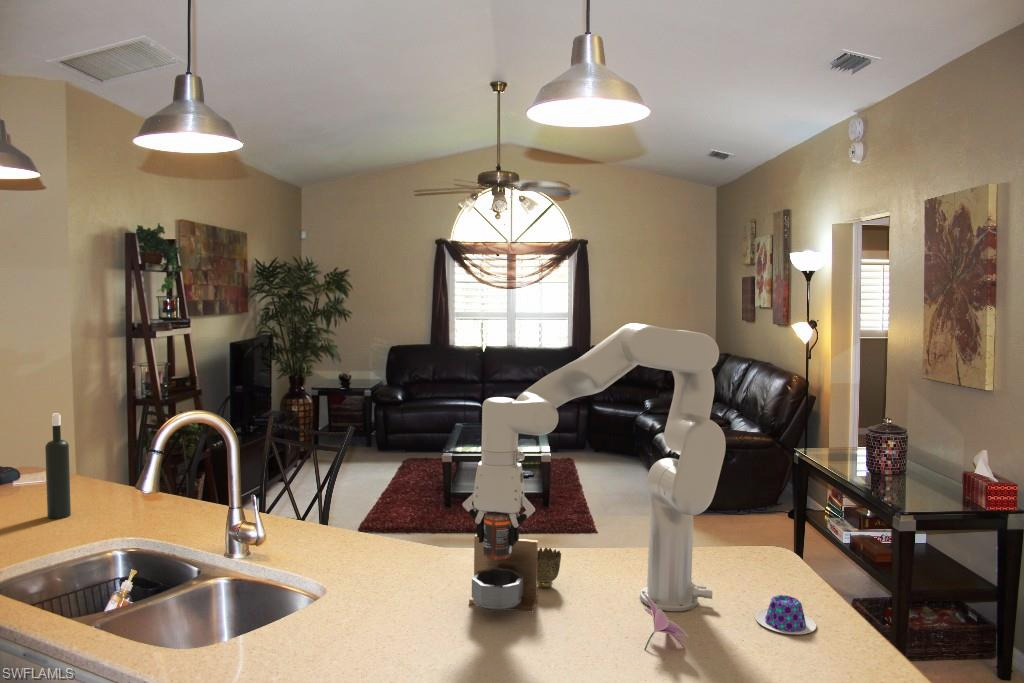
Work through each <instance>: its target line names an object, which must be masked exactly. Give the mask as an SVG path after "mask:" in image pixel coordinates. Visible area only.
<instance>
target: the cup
mask: <svg viewBox="0 0 1024 683" xmlns="http://www.w3.org/2000/svg"><path fill="white" fill-rule="evenodd" d="M561 558H562V553H561V550H556V548H555V549H554V550H552V548H551V547H549V548H547V547H545V548H544V549H543V548H542V547H540V548H538V568H537V588H540V589H545V590H546V589H550V588H552V586H553V585H554V584H553V581H554V580H556V579H557V578H558V575H559V572H560V567H561V560H562V559H561Z"/></svg>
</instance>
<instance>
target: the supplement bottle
mask: <svg viewBox="0 0 1024 683" xmlns="http://www.w3.org/2000/svg"><path fill="white" fill-rule="evenodd" d="M511 526H512V522H511V519H510V516H509V514H506V513H500V512H486V514H485V515H484V541H483V542H484V544H483V551H484V552H483V553H484V556H485V557H486V558H488V559H492V560H504V559H507V558H509V557H510V556H511V551H512V546H511V545H510V527H511Z"/></svg>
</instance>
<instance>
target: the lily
mask: <svg viewBox="0 0 1024 683" xmlns="http://www.w3.org/2000/svg"><path fill="white" fill-rule="evenodd" d="M642 593H643V592H642ZM643 595H644V596H645V598H646V599H647V601H648V602H649V604H650V606H651V607H650V606H649V607H650V609H649V608H643V610H644V611H645V612H646V613H647V614H649V615H650V616H651V617H652V618H653V631H652V633H651V634H650V636H649V637H648V640H647V642H646V644H645V647H644V651H646V650H647V648H648V645H649V643H650V642H651V639H652V637H653V636H654V634H655V633H657V632H659V633H664V634H667V635H669V636H672V637H673V638H674V639H675V640H676V641H677V642H678V644H680V645H681V647H682V648H683V649H684V650H686V647H685V645H684V643H683V642H682V640H681V638H679V636H684V637H687V638H690V636H689V635H688V634H687V632H685V630H684V629H683V628H681V627H680V626H679V625H678V624H677V623H675V622H674V621H672V620H670V619H671V616H669V615H666V614H665V612H664V610H661V609H658V608H657V606H656V605H655V604H654V602H653V601H652V600H651V599H650V598H649V597H648V596H647V595H646V594H644V593H643ZM668 616H669V617H668Z"/></svg>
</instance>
